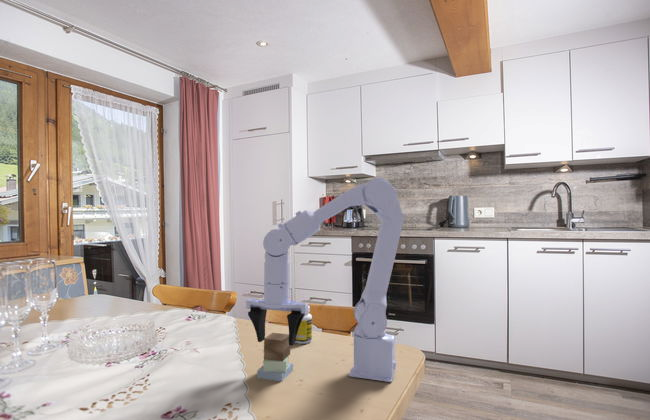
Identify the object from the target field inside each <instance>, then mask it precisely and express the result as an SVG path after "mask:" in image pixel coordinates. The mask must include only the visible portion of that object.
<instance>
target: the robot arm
mask: <svg viewBox="0 0 650 420" xmlns="http://www.w3.org/2000/svg"><path fill="white" fill-rule="evenodd" d="M400 204H401V203H400V201H399V198H398V192H397V189H395V187H394V186H393V184H392V183H391V182H390V181H389V180H388V179H387V178H383V177H373V178H372V179H370V180H369V181H367V182H363V183H361V184H358V185H356V186H354V187H352V188H349V189H348V190H346V191H345V192H342V193H341V194H340V195H338V196H336V197H335V198H334V199H331V200H330V201H329V202H327V203H325V204H324V205H323V206H321V207H319V208H318V209H316V210H315V211H312V210H311V211H310V210H306V209H305V210H303V211H301V210H299V211H297V212H295V216H293V217H292V218H290V219H289V220H287V221H286V222H284V223H282V222H280V223H278V224H277V227H278V228H274V229H271V230H269V231H268V232H267V233H266V234H265V236H264V238H263V241H262V245H263V248H264V251H265V252H264V264H263V267H264V268H263V271H264V273H263V276H264V277H263V280H264V281H263V284H264V285H263V298H249V299H247V300H245V302H246V305H245V308H246V309H247V310H249V311H247V316H248V318H249V319H250V321H251V323H252V325H253V328H254V330H255V333H256V337H257V342H258V343H261V342H264V338H266V319H267V314H268V313H267V312H268V310H269V311H281V312H290V313H288V314H287V315H286V318H287V319H286V320H287V325H288V334H289V346H290V347H292V346H294V345H295V344H296V343H295V342H296V336H297V332H298V329H299V326H300V324H301V321H302V319H303V317H304V315H305V314H306V313H307V312H308V306H309V302H303V301H302V302H301V301H298V300H297V301H296V300H291V299H290V285H291V284H290V276H291V274H290V273H291V272H290V271H291V270H290V266H291V265H290V263H291V262H290V260H289V258H290V257H289V254H290V253H289V252H290V251H289V249H290V247H291V246H297V245H299V244H301V243H302V242H304V241H306V240H307V239H309V238H310V237H312V236H313V235H315V234H316V233H318V232H320V228H321V227H320V226H321V224H322V223H323V222H325V221H327V220H329V219H330V218H332V217H334V216H336V215H337V214H339V213H341V212H342V211H344V210H346V209H348V208H350V207H355V206H356V207H359V206H365V207H367V208H368V209H369V210H370V211H372V212H373V213H374V215H375V216H376V217H377V219H378V220H379V222H380V224H379V229H378V233H377V237H376V241H375V246H374V250H373V253H372V258H371V259H372V260H371V262H370V263H371V264H370V267H369V270H368V275H367V280H366V284H365V288H364V290H363V291H362V293H361V295H360V296H361V297H360V300H359V301H358V302H357V303H356V305H355V306H354V308H353V317H354V319H355V320H356V322H357V324H356V327H355V328H354V329H353V366H352V368H351V369H350V371H349V373H348V376H349V377H350V378H357V379H358V378H359V379H364V380H365V379H366V380H373V381H380V382H388V383H392V382H393V379H394V375H395V371H396V367H397V361H396V337H395V335H393V334H388V333H387V332H386V329H387V326H388V320H387V319H388V318H387V315H386V312H387V307H388V306H387V305H388V304H387V292H388V289H389V284H390V281H391V276H392V273H393V272H392V271H393V268H394V267H393V266H394V264H395V259H396V255H397V251H398V247H399V242H400V238H401V233H402V230H403V225H404V221H405V220H404V219H405V218H404V214H403V211H402V208H401V205H400Z"/></svg>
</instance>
